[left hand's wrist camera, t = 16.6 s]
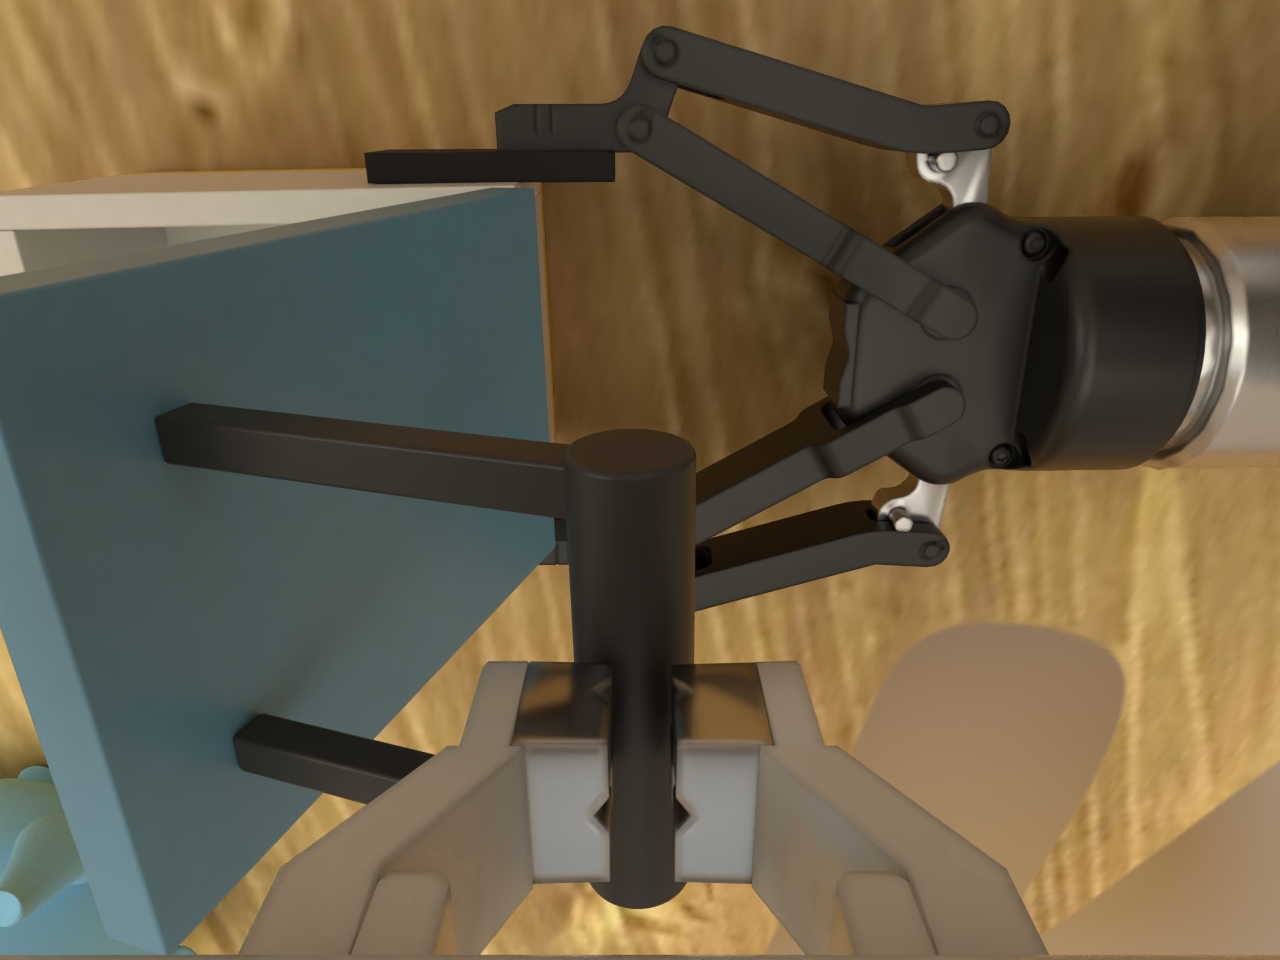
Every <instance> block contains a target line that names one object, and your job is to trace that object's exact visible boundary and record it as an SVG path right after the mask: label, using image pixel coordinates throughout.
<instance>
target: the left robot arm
mask: <svg viewBox="0 0 1280 960" xmlns="http://www.w3.org/2000/svg"><path fill="white" fill-rule="evenodd" d="M670 696H671V720H672V724H671V725H670V791H671V807H672V808H673V822H672V838H673V855H674V873H675V882H705V883H741V884H752V888H753V889H754V891H755V892H756V893H757V894H758V896H759V897H760V898H761V899H762V901H763V902H764V903H765V904H766V906H767V907H768V908H769V909H770V911H771V912H772V913H773V914H774V916H775V917H776V918H777V919H778V921H779V922H780V923H781V924H782V926H783V927H784V928H785V929H786V931H787V932H788V933H789V934H790V936H791V937H792V938H793V939H794V941H795V942H796V943H797V944H798V946H799V947H800V948H801V949H802V951H803V952H804V953H805V954H806V955H480V954H481V952H482V951H483V950H484V949H485V947H486V946H487V945H488V944H489V942H490V941H491V940H492V939H493V937H494V936H495V935H496V934H497V932H498V931H499V930H500V929H501V927H502V926H503V925H504V924H505V922H506V921H507V920H508V919H509V917H510V916H511V915H512V914H513V912H514V911H515V910H516V909H517V907H518V906H519V905H520V904H521V902H522V901H523V900H524V899H525V897H526V896H527V895H528V894H529V892H530V891H531V890H532V889H533V884H543V883H578V882H610V865H611V844H612V807H613V791H614V728H613V698H614V696H613V663H580V662H530V663H528V662H527V661H488V663H487V664H486V665H485V666H484V667H483V669H482V672H481V676H480V679H479V682H478V686H477V689H476V692H475V696H474V699H473V703H472V706H471V709H470V713H469V716H468V720H467V723H466V726H465V730H464V733H463V736H462V740H461V743H460V746H447V747H445V748H444V749H443V750H441V751H440V752H438V753H437V754H436V755H434V756H433V757H432V758H430V759H429V760H428V761H426V762H425V763H423V764H422V765H421V766H419V767H418V768H417V769H415V770H414V771H412V772H411V773H410V774H408V775H407V776H406V777H404V778H403V779H401V780H400V781H399V782H397V783H396V784H395V785H393V786H392V787H390V788H389V789H388V790H386V791H385V792H384V793H382V794H381V795H380V796H378V797H377V798H375V799H374V800H373V801H371V802H370V803H369V804H367V805H366V806H364V807H363V808H362V809H360V810H359V811H358V812H356V813H355V814H353V815H352V816H351V817H349V818H348V819H347V820H345V821H344V822H342V823H341V824H340V825H338V826H337V827H336V828H334V829H333V830H331V831H330V832H329V833H327V834H326V835H325V836H323V837H322V838H321V839H319V840H318V841H316V842H315V843H314V844H312V845H311V846H310V847H308V848H307V849H305V850H304V851H303V852H301V853H300V854H299V855H297V856H296V857H294V858H293V859H292V860H290V861H289V862H288V863H286V864H285V865H283V866H282V867H281V868H280V870H279V872H278V874H277V876H276V878H275V880H274V882H273V884H272V886H271V888H270V890H269V892H268V894H267V896H266V899H265V901H264V903H263V905H262V907H261V909H260V911H259V913H258V915H257V917H256V919H255V921H254V923H253V925H252V927H251V929H250V931H249V933H248V935H247V937H246V939H245V941H244V943H243V945H242V947H241V949H240V951H239V953H238V955H0V960H1280V955H1049V954H1048V952H1047V950H1046V948H1045V946H1044V944H1043V942H1042V940H1041V938H1040V936H1039V934H1038V932H1037V930H1036V928H1035V926H1034V924H1033V921H1032V919H1031V917H1030V915H1029V913H1028V911H1027V909H1026V907H1025V905H1024V903H1023V901H1022V899H1021V897H1020V895H1019V893H1018V891H1017V889H1016V887H1015V885H1014V883H1013V881H1012V879H1011V877H1010V875H1009V873H1008V871H1007V869H1006V868H1005V867H1003V866H1002V865H1001V864H999V863H998V862H996V861H995V860H994V859H992V858H991V857H989V856H988V855H987V854H985V853H984V852H983V851H981V850H980V849H979V848H977V847H976V846H974V845H973V844H972V843H970V842H969V841H967V840H966V839H965V838H963V837H962V836H961V835H959V834H958V833H957V832H955V831H954V830H952V829H951V828H950V827H948V826H947V825H946V824H944V823H943V822H941V821H940V820H939V819H937V818H936V817H934V816H933V815H932V814H930V813H929V812H928V811H926V810H925V809H924V808H922V807H921V806H919V805H918V804H917V803H915V802H914V801H913V800H911V799H910V798H908V797H907V796H906V795H904V794H903V793H901V792H900V791H899V790H897V789H896V788H895V787H893V786H892V785H891V784H889V783H888V782H886V781H885V780H884V779H882V778H881V777H879V776H878V775H877V774H875V773H874V772H873V771H871V770H870V769H869V768H867V767H866V766H864V765H863V764H862V763H860V762H859V761H858V760H856V759H855V758H853V757H852V756H851V755H849V754H848V753H847V752H845V751H844V750H842V749H841V748H840V747H838V746H825V744H824V740H823V737H822V734H821V731H820V727H819V724H818V721H817V718H816V714H815V711H814V708H813V705H812V701H811V698H810V695H809V692H808V688H807V685H806V682H805V679H804V675H803V672H802V669H801V666H800V664H799V663H798V662H796V661H773V662H755V663H714V664H672V665H671V691H670Z"/></svg>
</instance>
